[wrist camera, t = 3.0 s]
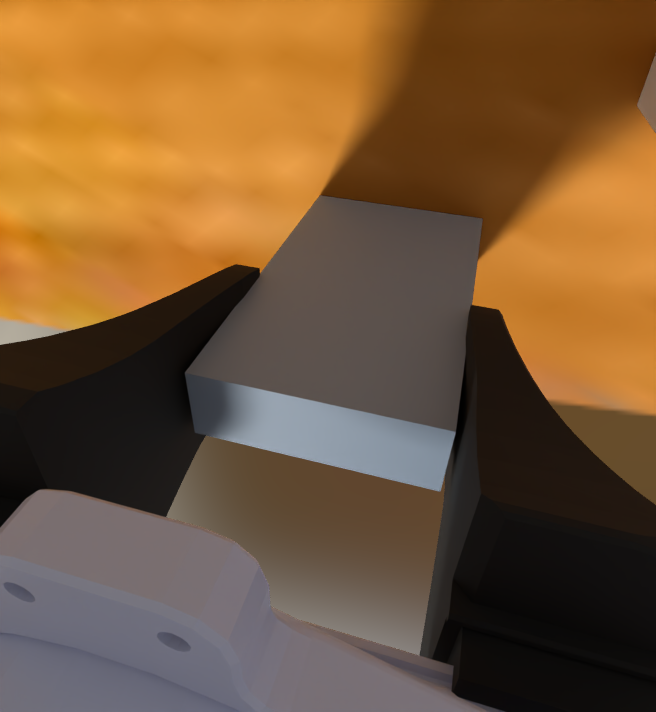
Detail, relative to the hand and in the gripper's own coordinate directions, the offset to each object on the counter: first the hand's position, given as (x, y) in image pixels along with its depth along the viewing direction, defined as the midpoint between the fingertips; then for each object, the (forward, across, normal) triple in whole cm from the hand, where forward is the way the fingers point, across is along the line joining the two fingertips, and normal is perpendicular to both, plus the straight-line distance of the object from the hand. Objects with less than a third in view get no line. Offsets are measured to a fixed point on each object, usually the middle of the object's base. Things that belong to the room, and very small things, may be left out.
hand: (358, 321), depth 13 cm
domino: (+5, 0, 0) cm, 5 cm away
